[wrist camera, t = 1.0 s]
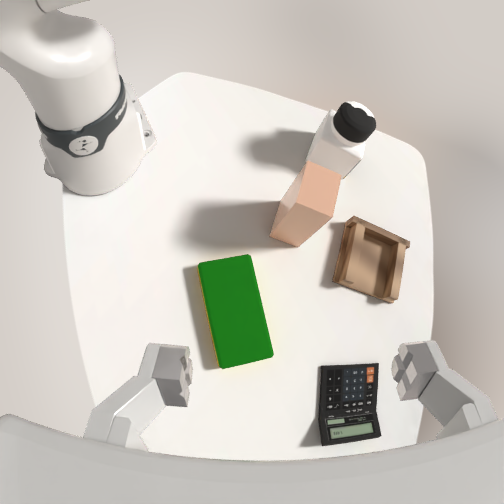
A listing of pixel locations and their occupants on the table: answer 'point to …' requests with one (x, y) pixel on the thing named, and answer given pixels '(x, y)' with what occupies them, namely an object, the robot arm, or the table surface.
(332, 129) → the medicine bottle
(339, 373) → the calculator
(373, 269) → the tray
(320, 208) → the clay block
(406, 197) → the table surface
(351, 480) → the robot arm
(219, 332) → the dish sponge
